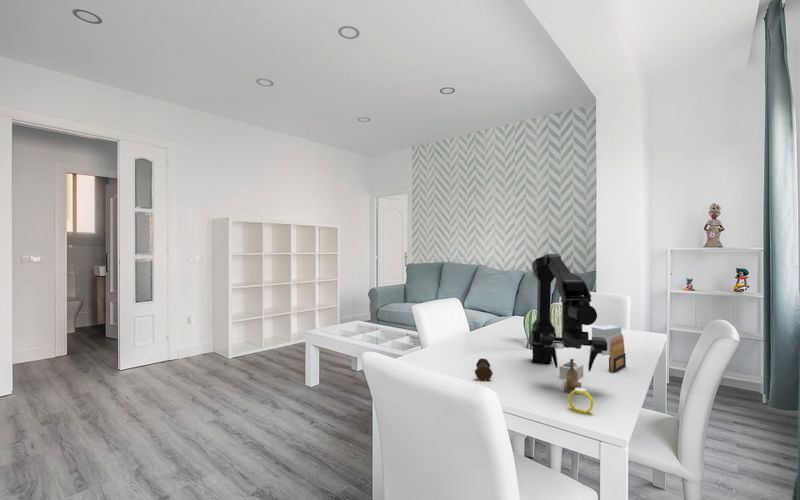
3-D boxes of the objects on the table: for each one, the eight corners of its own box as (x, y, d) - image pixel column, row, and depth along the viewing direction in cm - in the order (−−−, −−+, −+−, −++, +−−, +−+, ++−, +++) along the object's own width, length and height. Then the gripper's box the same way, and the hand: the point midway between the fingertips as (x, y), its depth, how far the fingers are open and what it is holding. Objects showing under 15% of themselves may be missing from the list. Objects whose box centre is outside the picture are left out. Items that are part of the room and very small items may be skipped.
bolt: (485, 372, 141) (486, 385, 127) (473, 365, 142) (472, 377, 128) (493, 359, 141) (495, 370, 126) (480, 351, 142) (481, 362, 127)
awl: (566, 388, 118) (566, 360, 118) (566, 385, 121) (566, 357, 121) (578, 390, 117) (577, 361, 117) (578, 386, 120) (577, 358, 120)
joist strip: (563, 392, 116) (563, 391, 116) (565, 368, 139) (565, 367, 139) (581, 394, 114) (581, 393, 114) (580, 370, 137) (580, 369, 137)
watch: (568, 411, 103) (566, 389, 104) (571, 408, 105) (569, 386, 106) (592, 415, 100) (590, 392, 100) (594, 412, 102) (592, 389, 102)
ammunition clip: (614, 373, 133) (614, 338, 133) (608, 372, 135) (608, 337, 135) (625, 366, 140) (625, 334, 140) (620, 365, 142) (619, 333, 142)
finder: (559, 378, 129) (559, 365, 129) (568, 373, 134) (568, 360, 134) (574, 381, 126) (574, 368, 126) (583, 376, 131) (583, 363, 131)
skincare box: (608, 348, 166) (608, 324, 166) (622, 352, 160) (622, 327, 160) (591, 351, 162) (591, 326, 162) (605, 355, 156) (604, 329, 156)
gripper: (538, 321, 115) (538, 373, 115) (608, 325, 108) (609, 381, 108) (540, 315, 125) (541, 363, 125) (605, 319, 118) (606, 370, 118)
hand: (572, 369), depth 119 cm, fingers open, 9 cm apart
